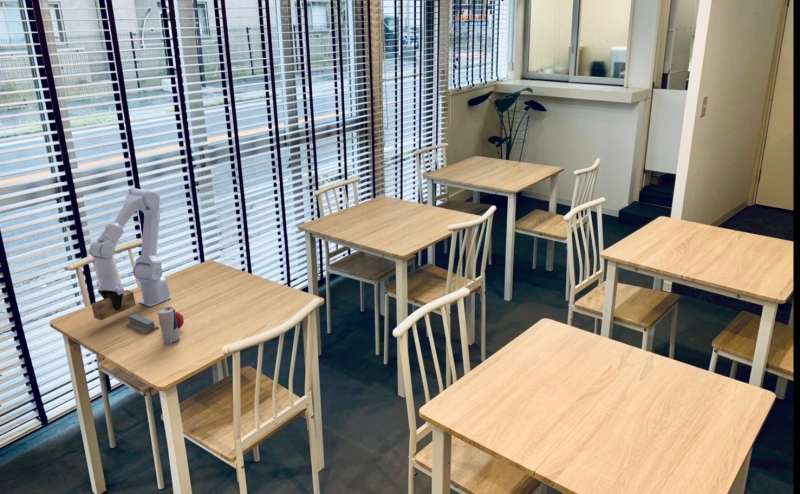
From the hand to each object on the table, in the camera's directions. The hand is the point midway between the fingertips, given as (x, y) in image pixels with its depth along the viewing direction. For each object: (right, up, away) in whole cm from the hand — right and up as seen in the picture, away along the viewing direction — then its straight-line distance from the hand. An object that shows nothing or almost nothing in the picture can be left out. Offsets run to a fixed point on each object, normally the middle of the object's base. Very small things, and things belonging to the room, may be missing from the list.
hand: (114, 307), depth 230 cm
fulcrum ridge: (+12, -6, -4) cm, 14 cm away
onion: (+25, -7, -8) cm, 27 cm away
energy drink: (+27, -10, -16) cm, 32 cm away
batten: (0, -1, +1) cm, 2 cm away
